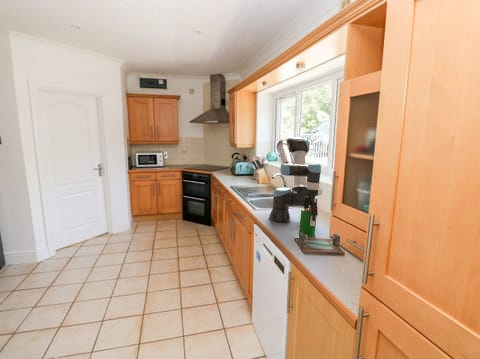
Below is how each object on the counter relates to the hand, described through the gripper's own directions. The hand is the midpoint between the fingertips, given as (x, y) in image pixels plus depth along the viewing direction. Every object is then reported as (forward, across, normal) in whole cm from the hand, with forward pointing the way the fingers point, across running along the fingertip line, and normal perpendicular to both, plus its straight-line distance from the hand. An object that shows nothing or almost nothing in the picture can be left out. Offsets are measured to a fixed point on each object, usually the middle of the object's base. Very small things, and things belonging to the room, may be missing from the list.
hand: (308, 222), depth 162 cm
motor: (+8, 0, 0) cm, 8 cm away
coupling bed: (+8, +19, 0) cm, 21 cm away
